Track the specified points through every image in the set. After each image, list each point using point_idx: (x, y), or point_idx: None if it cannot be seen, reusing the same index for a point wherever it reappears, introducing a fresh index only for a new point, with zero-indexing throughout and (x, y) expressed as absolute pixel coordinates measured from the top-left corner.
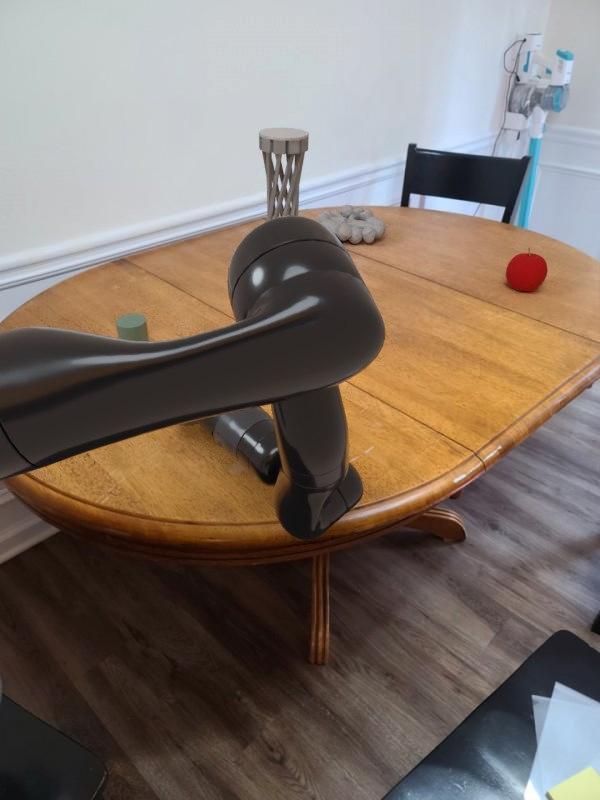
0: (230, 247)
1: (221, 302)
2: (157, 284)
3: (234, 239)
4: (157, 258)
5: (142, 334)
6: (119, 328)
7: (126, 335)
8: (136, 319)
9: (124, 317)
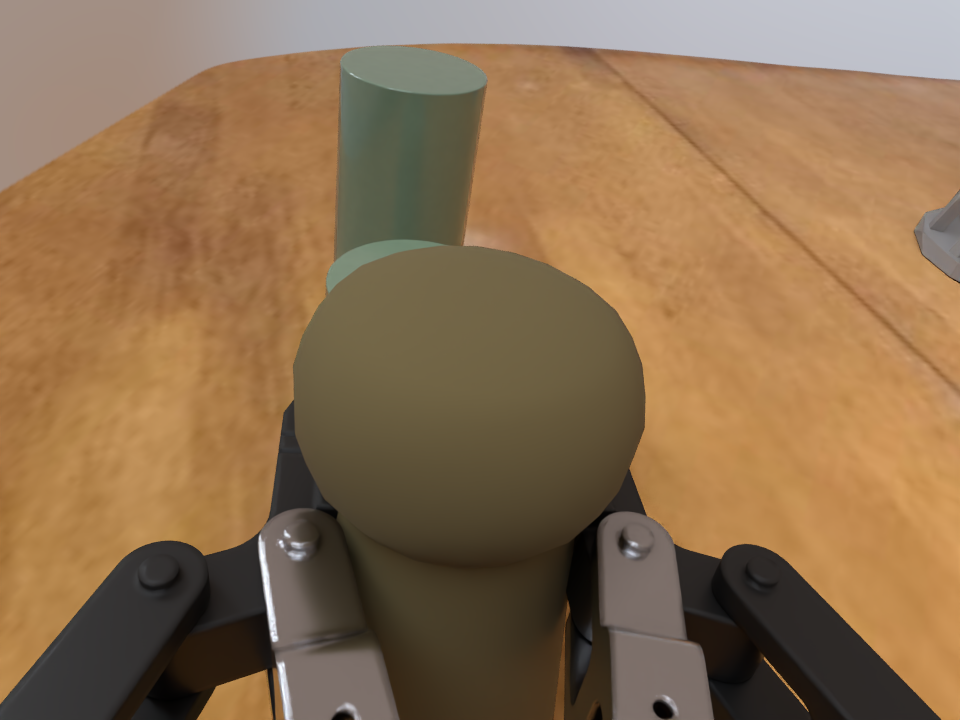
0: (866, 104)
1: (804, 212)
2: (636, 113)
3: (881, 93)
4: (667, 69)
5: (433, 149)
6: (342, 80)
7: (358, 124)
8: (441, 73)
9: (401, 53)
